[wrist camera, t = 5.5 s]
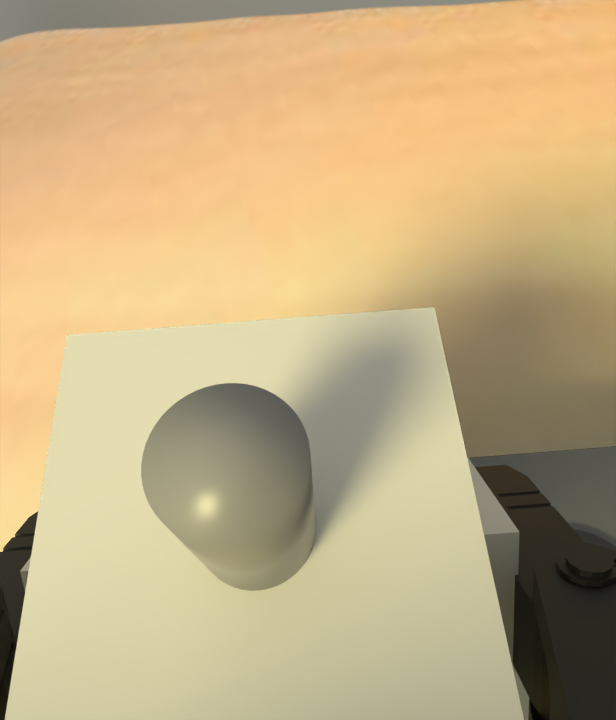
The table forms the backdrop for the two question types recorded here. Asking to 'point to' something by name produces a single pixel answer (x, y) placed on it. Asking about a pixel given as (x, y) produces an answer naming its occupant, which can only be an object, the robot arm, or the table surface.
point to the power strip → (570, 496)
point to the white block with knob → (260, 531)
